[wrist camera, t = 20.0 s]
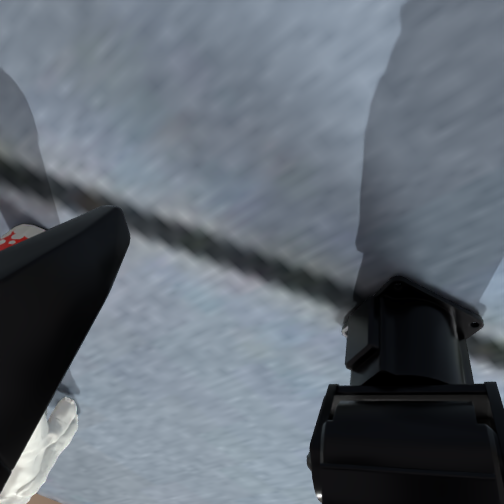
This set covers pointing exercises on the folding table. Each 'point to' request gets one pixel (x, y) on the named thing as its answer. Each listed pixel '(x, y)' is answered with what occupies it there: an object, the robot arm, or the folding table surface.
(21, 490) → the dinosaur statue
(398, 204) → the folding table surface
